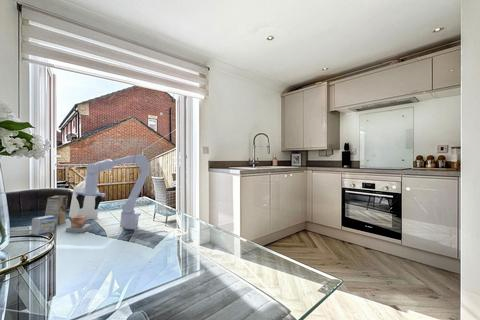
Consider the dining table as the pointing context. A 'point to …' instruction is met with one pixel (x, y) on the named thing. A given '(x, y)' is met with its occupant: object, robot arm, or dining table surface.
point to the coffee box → (57, 208)
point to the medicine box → (42, 225)
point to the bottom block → (85, 231)
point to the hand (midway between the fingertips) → (88, 208)
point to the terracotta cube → (78, 221)
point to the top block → (78, 228)
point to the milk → (87, 205)
